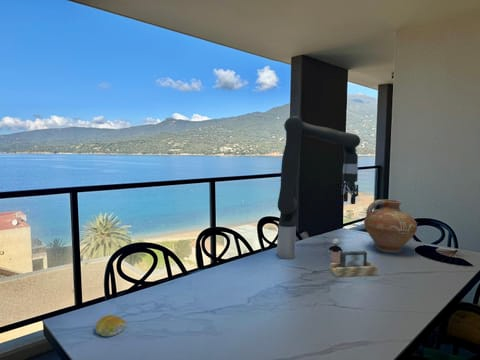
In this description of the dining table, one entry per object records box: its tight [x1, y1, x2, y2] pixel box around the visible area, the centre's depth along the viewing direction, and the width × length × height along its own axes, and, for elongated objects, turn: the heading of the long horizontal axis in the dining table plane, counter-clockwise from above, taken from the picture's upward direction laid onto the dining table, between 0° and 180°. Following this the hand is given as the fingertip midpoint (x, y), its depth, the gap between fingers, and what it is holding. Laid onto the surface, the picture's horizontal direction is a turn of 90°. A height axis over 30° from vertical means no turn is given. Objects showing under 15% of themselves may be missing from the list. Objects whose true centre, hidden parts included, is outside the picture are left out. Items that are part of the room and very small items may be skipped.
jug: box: [363, 199, 418, 254], centre depth 186 cm, size 28×28×30 cm
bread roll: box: [94, 314, 127, 338], centre depth 101 cm, size 8×9×4 cm
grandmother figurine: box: [327, 238, 344, 263], centre depth 164 cm, size 8×4×13 cm, turn 84°
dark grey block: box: [339, 250, 368, 267], centre depth 151 cm, size 12×3×8 cm, turn 98°
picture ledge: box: [329, 261, 379, 278], centre depth 151 cm, size 20×8×4 cm, turn 98°
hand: (349, 202), depth 170 cm, fingers open, 8 cm apart
